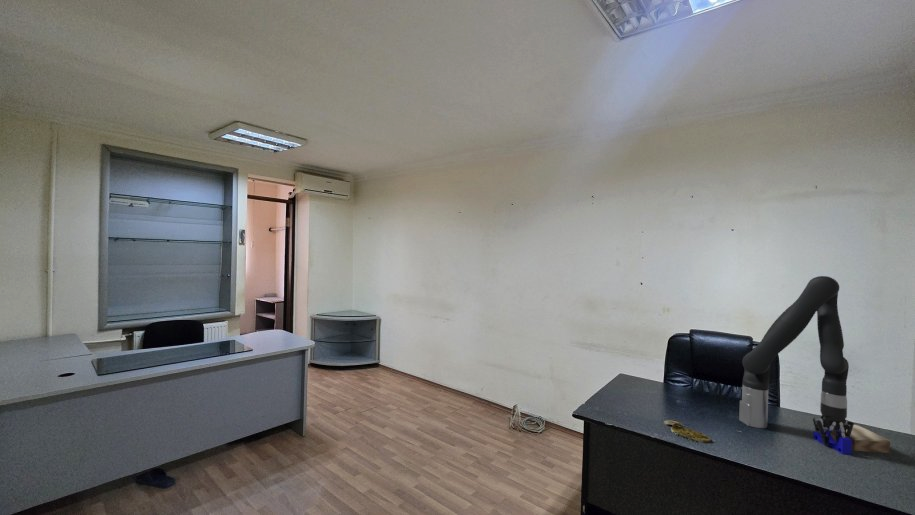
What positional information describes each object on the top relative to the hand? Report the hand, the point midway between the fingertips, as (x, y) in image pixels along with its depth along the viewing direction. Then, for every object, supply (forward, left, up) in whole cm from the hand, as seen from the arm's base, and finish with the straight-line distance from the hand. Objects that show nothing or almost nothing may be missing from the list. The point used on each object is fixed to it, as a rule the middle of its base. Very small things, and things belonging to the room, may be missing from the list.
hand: (832, 444), depth 147 cm
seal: (-55, +2, -1) cm, 55 cm away
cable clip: (0, 0, -1) cm, 1 cm away
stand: (+13, +4, -1) cm, 13 cm away
